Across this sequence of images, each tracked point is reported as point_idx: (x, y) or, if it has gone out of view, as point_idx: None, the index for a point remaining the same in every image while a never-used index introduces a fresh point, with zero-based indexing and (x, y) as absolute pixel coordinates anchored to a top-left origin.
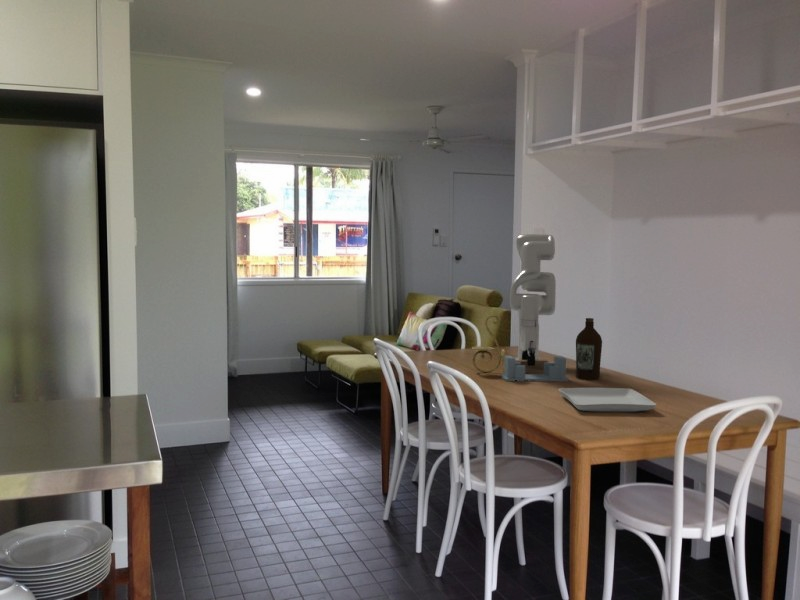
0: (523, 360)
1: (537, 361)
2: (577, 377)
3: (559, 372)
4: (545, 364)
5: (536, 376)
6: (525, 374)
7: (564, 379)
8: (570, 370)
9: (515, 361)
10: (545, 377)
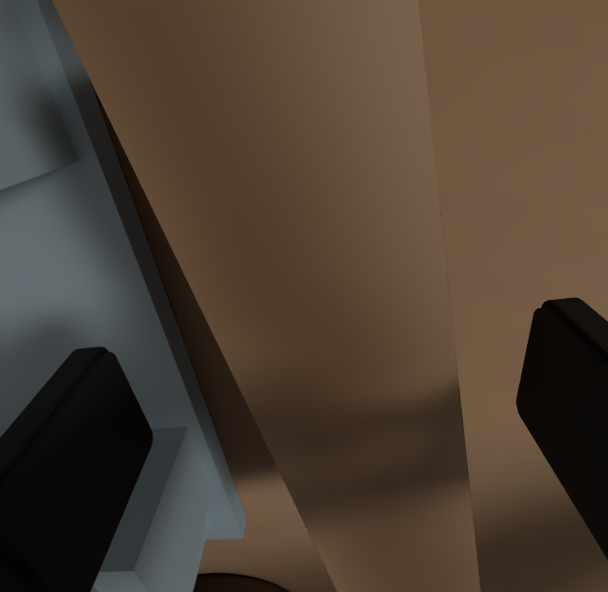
0: (356, 341)
1: (304, 521)
2: (201, 579)
3: None
4: None
5: (20, 351)
6: (100, 242)
7: None
8: (520, 588)
9: (134, 104)
10: (9, 419)
